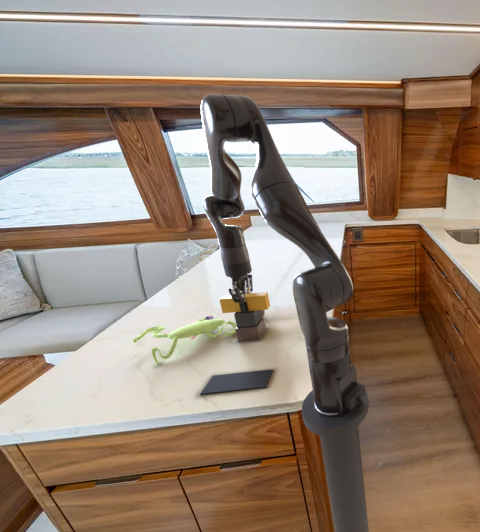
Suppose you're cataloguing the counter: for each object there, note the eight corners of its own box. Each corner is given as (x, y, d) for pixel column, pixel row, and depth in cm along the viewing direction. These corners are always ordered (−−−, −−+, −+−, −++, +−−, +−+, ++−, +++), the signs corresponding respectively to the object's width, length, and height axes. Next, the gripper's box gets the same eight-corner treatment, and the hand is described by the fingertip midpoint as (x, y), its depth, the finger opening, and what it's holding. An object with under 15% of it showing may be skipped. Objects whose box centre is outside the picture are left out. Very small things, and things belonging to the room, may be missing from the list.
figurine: (134, 347, 97) (128, 332, 95) (223, 316, 115) (219, 303, 114) (144, 371, 85) (138, 355, 83) (241, 332, 103) (238, 318, 102)
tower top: (261, 317, 103) (259, 304, 102) (256, 326, 98) (253, 312, 96) (243, 319, 103) (240, 306, 101) (237, 327, 97) (233, 314, 95)
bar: (270, 305, 101) (267, 291, 99) (267, 309, 98) (264, 295, 96) (226, 308, 99) (223, 295, 98) (222, 313, 96) (219, 299, 95)
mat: (273, 370, 84) (273, 369, 84) (265, 387, 77) (265, 386, 77) (213, 376, 82) (212, 375, 82) (200, 395, 75) (200, 393, 75)
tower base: (266, 329, 105) (263, 316, 104) (260, 340, 99) (257, 326, 97) (245, 331, 105) (242, 318, 103) (238, 342, 98) (234, 328, 96)
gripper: (240, 265, 87) (251, 318, 92) (255, 252, 100) (265, 299, 105) (212, 267, 86) (226, 320, 91) (232, 254, 99) (242, 300, 105)
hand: (246, 308), depth 98 cm, fingers closed on bar, 3 cm apart
